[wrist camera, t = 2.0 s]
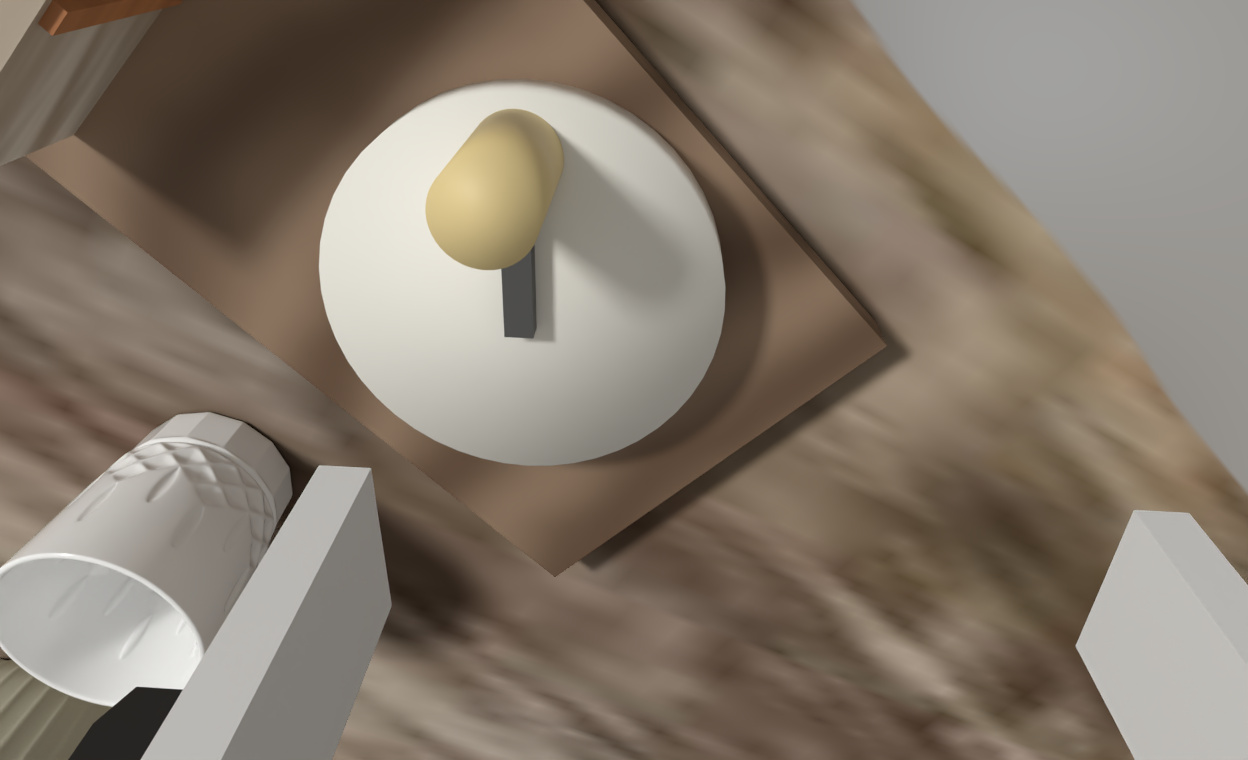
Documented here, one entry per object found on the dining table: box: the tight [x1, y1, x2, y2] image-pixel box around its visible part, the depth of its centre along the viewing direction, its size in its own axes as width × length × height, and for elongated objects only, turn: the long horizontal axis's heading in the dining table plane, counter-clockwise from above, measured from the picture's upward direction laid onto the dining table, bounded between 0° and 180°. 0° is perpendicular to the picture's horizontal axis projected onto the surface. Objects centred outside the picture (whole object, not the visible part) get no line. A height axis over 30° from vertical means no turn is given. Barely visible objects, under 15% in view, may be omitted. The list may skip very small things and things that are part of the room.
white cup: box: [0, 412, 293, 707], centre depth 35 cm, size 8×8×10 cm
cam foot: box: [319, 79, 725, 466], centre depth 28 cm, size 14×14×8 cm
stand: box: [0, 0, 887, 577], centre depth 29 cm, size 27×18×9 cm, turn 43°
